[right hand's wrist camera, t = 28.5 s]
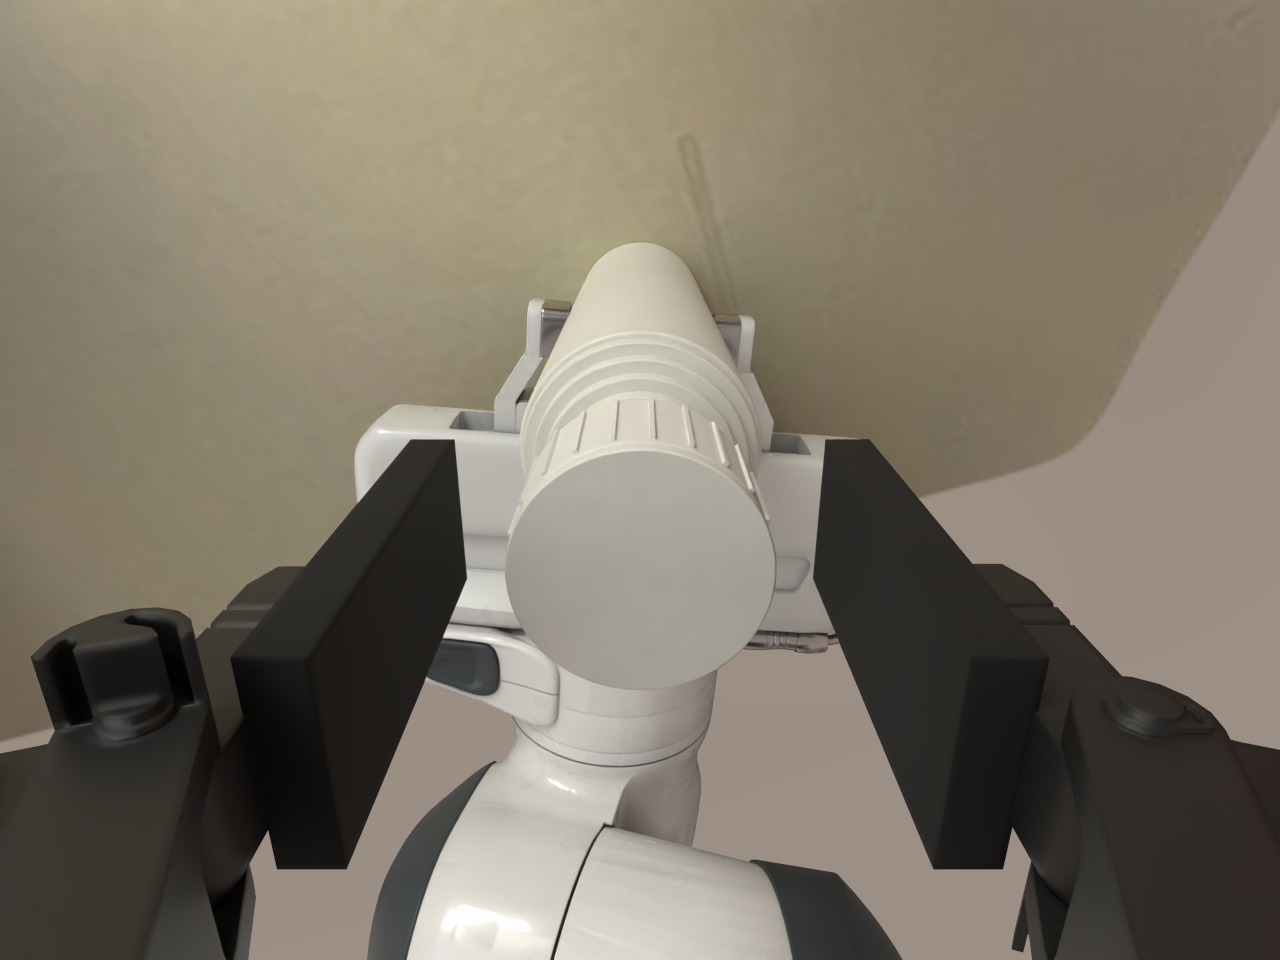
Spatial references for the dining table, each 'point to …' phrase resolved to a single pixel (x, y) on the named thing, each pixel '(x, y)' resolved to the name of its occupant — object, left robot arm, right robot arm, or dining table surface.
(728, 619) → the cap
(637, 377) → the bottle
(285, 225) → the dining table surface
